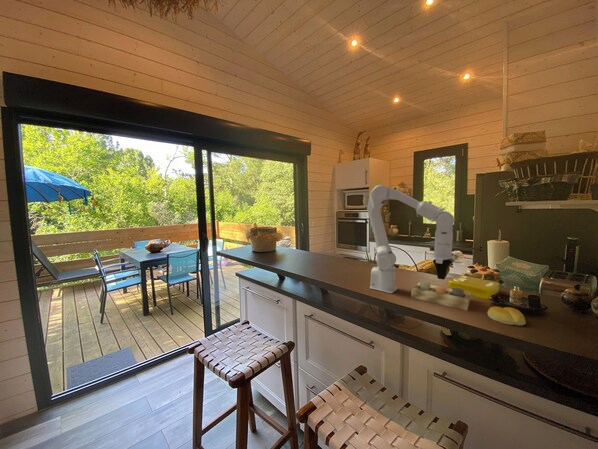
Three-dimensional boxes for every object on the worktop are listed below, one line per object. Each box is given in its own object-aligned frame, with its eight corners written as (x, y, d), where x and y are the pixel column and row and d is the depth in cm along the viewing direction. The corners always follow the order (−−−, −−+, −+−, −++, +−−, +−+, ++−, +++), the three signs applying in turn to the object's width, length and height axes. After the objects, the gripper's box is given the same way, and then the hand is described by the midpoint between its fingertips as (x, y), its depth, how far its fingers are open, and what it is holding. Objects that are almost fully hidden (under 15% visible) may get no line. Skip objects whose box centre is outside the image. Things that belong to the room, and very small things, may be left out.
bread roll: (483, 312, 82) (483, 301, 81) (515, 316, 79) (516, 304, 79) (494, 324, 74) (495, 311, 74) (531, 328, 71) (532, 315, 71)
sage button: (418, 291, 96) (419, 283, 96) (420, 289, 99) (421, 281, 99) (428, 294, 94) (429, 285, 94) (430, 291, 97) (431, 283, 97)
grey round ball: (451, 298, 89) (451, 289, 89) (452, 296, 92) (453, 287, 92) (462, 301, 87) (463, 291, 87) (463, 298, 90) (464, 289, 90)
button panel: (411, 297, 94) (411, 290, 94) (418, 289, 103) (419, 282, 103) (467, 310, 83) (467, 301, 83) (470, 300, 92) (470, 292, 92)
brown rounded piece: (434, 297, 93) (434, 288, 93) (435, 295, 96) (436, 286, 95) (444, 300, 91) (445, 291, 90) (446, 297, 93) (447, 288, 93)
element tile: (489, 301, 92) (490, 288, 92) (446, 290, 104) (447, 279, 104) (499, 292, 102) (500, 281, 102) (459, 283, 113) (459, 273, 113)
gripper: (453, 247, 83) (450, 285, 84) (458, 242, 95) (456, 276, 96) (430, 244, 88) (428, 281, 89) (437, 240, 99) (435, 273, 100)
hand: (441, 278), depth 93 cm, fingers closed
